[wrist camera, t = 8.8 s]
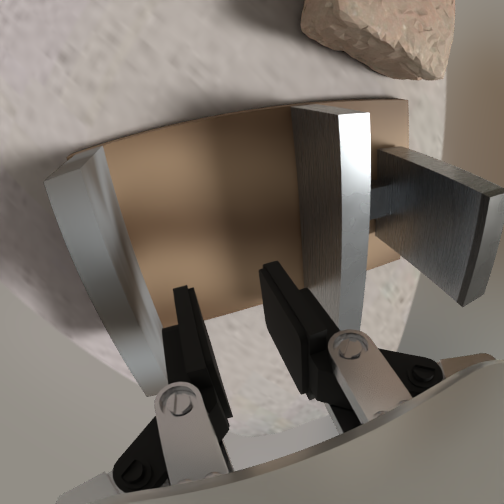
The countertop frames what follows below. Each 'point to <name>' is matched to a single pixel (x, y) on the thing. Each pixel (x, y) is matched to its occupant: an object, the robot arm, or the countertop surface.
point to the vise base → (193, 218)
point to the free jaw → (386, 212)
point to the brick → (386, 33)
